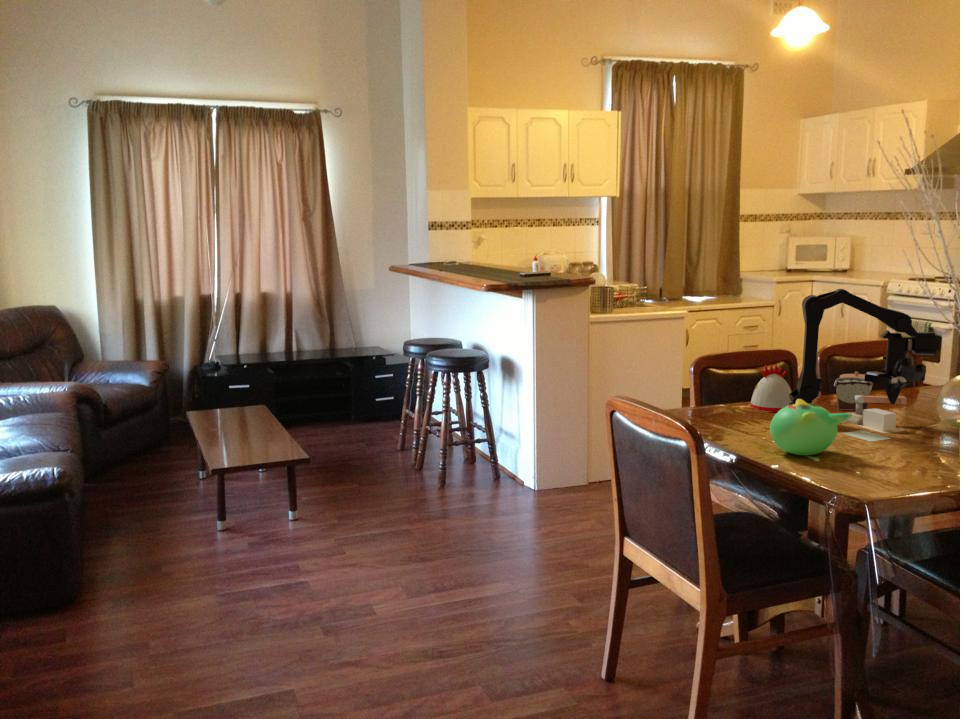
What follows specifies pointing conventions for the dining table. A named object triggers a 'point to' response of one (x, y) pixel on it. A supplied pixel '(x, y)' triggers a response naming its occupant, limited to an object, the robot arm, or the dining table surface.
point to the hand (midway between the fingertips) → (892, 404)
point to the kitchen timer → (771, 391)
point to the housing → (858, 419)
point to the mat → (866, 435)
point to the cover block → (879, 419)
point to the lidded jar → (853, 376)
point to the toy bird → (805, 428)
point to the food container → (851, 392)
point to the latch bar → (879, 399)
